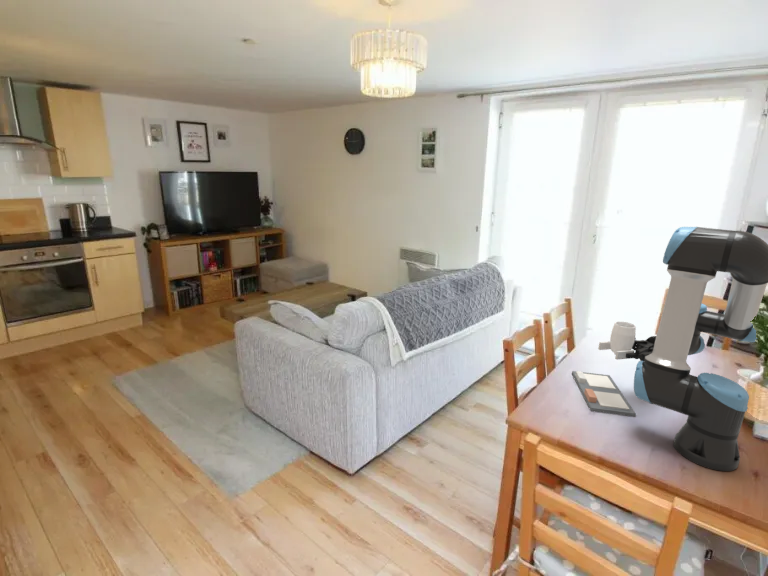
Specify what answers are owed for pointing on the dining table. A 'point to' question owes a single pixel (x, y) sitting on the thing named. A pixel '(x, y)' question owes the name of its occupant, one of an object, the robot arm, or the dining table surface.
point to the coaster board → (602, 394)
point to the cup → (622, 336)
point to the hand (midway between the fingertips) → (608, 350)
